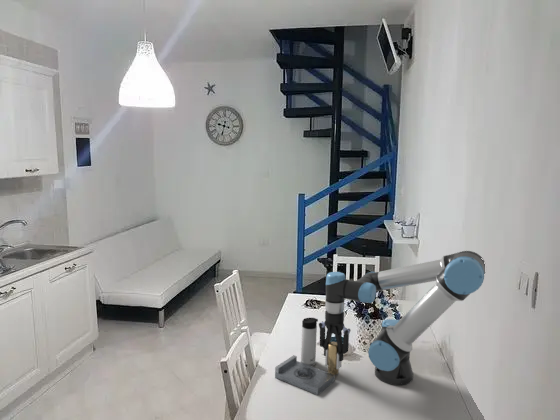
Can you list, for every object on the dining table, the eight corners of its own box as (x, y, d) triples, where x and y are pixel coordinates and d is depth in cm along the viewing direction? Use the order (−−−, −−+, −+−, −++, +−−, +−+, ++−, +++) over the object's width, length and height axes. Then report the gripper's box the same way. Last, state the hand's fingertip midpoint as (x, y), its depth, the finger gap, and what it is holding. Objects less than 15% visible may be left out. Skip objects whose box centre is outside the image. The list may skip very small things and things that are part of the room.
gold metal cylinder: (340, 371, 175) (341, 343, 174) (335, 375, 172) (336, 347, 170) (331, 368, 178) (331, 340, 176) (325, 372, 174) (326, 344, 173)
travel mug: (315, 367, 181) (316, 322, 178) (299, 365, 182) (301, 320, 180) (316, 360, 187) (318, 316, 185) (302, 358, 189) (303, 315, 186)
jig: (334, 380, 171) (335, 370, 170) (317, 395, 161) (318, 383, 160) (293, 365, 183) (293, 355, 182) (275, 377, 172) (275, 367, 172)
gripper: (358, 312, 169) (356, 368, 172) (320, 303, 180) (319, 356, 182) (350, 318, 163) (348, 376, 166) (311, 308, 174) (310, 363, 176)
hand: (333, 365), depth 174 cm, fingers closed on gold metal cylinder, 4 cm apart
